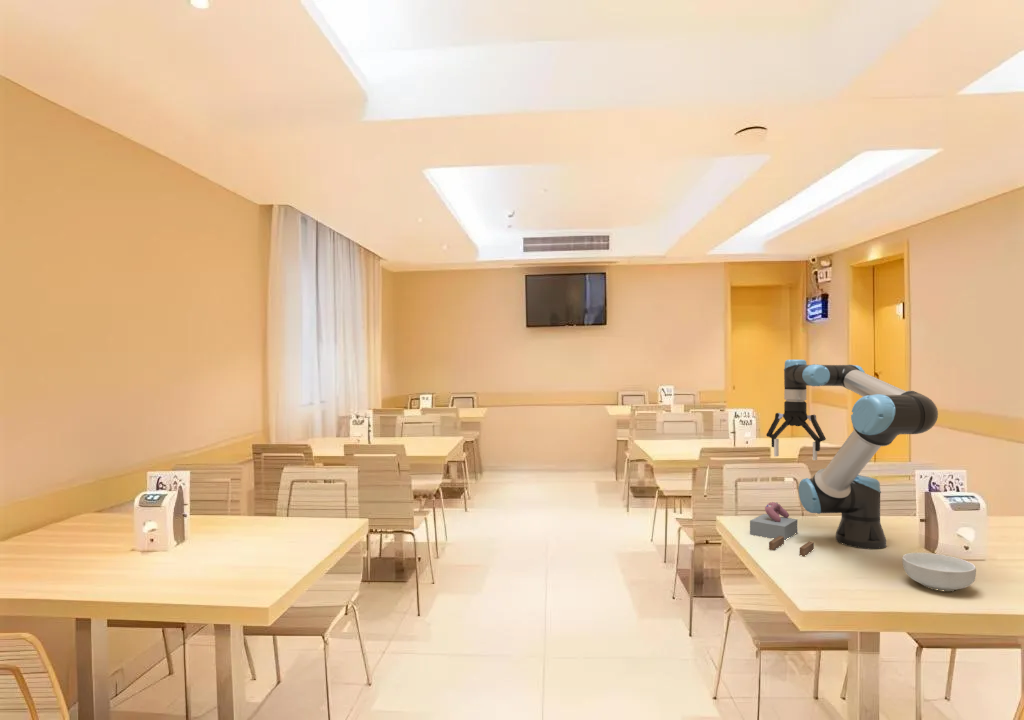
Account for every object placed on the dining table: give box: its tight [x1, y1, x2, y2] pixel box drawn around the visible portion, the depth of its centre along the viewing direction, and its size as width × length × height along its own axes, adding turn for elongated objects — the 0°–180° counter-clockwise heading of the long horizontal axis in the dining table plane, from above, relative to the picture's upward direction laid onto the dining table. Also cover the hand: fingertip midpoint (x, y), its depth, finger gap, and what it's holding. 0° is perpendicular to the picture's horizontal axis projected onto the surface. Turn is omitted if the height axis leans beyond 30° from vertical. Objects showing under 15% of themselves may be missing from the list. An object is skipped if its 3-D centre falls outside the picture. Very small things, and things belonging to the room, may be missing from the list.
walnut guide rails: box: [768, 536, 815, 557], centre depth 201 cm, size 11×10×2 cm
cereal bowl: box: [901, 552, 977, 592], centre depth 168 cm, size 17×17×7 cm
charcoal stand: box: [749, 513, 799, 541], centre depth 220 cm, size 12×14×5 cm
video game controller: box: [764, 501, 790, 522], centre depth 222 cm, size 10×5×7 cm, turn 137°
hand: (795, 458), depth 226 cm, fingers open, 13 cm apart
